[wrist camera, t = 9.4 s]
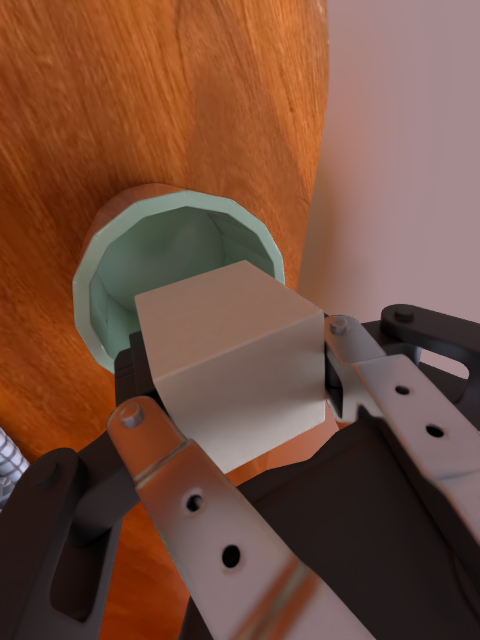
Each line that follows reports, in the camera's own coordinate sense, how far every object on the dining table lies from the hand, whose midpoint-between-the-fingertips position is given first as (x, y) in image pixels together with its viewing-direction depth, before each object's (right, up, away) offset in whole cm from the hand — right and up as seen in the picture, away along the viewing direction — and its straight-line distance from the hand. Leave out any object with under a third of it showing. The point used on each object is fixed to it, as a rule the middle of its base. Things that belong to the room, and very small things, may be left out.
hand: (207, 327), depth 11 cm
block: (0, 0, 0) cm, 0 cm away
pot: (-4, +5, +9) cm, 11 cm away
